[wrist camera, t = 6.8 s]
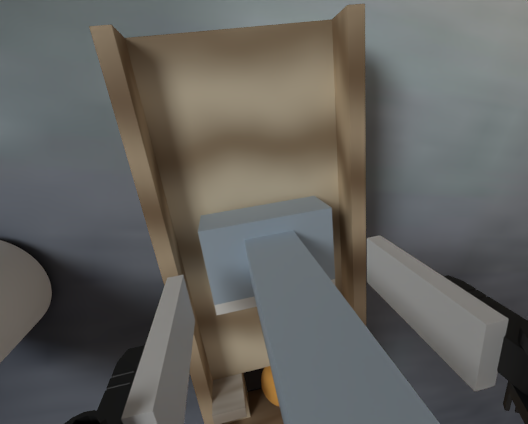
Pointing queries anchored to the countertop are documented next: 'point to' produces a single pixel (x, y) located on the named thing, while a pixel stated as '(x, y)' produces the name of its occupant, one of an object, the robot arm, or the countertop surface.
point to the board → (242, 163)
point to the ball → (269, 386)
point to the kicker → (304, 315)
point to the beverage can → (20, 295)
